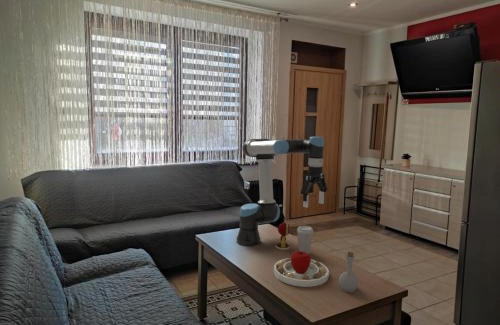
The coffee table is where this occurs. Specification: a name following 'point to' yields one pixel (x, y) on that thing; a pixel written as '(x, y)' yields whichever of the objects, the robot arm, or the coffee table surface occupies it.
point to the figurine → (283, 236)
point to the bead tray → (301, 274)
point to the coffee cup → (304, 238)
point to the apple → (300, 261)
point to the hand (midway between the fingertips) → (313, 205)
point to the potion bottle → (348, 276)
